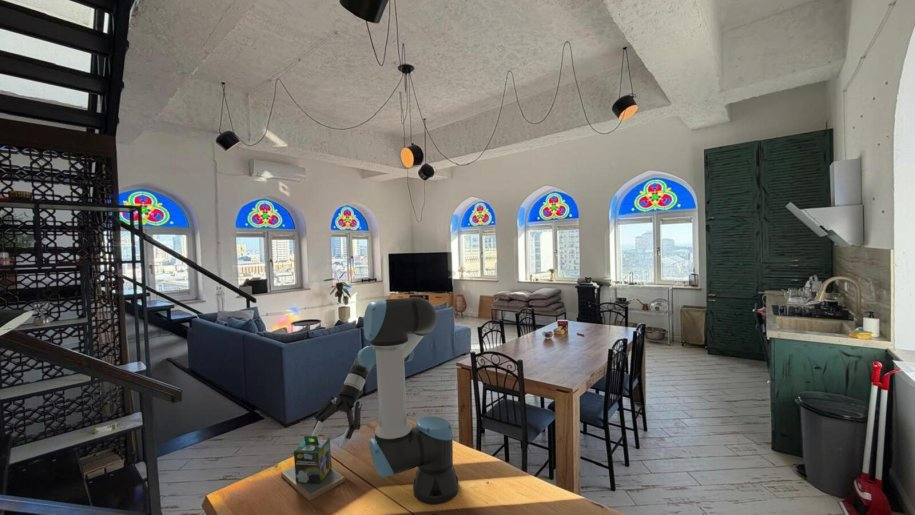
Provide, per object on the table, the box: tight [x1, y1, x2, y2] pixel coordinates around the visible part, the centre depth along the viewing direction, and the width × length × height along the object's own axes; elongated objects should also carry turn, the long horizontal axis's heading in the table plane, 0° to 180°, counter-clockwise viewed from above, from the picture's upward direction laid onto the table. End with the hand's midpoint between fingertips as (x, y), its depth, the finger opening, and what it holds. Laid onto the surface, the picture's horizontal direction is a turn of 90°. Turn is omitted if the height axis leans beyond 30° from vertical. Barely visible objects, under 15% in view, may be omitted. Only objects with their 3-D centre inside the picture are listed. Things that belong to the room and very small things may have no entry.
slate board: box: [280, 465, 346, 502], centre depth 136 cm, size 20×13×2 cm, turn 48°
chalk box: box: [293, 435, 333, 484], centre depth 134 cm, size 9×9×15 cm
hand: (326, 443), depth 141 cm, fingers open, 13 cm apart
